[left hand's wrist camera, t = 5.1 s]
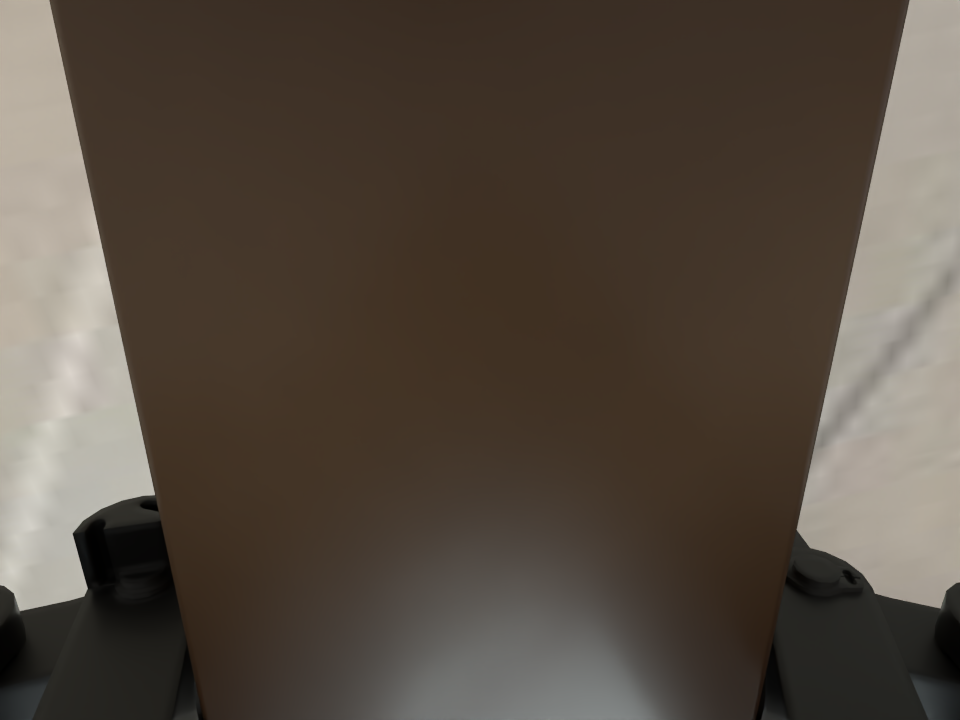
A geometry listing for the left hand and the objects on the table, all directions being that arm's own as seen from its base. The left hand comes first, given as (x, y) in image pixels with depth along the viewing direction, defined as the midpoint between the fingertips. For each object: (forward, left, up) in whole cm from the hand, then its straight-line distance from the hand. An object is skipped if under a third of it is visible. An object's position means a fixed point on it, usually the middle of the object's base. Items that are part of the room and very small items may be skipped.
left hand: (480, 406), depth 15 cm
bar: (+7, 0, -1) cm, 7 cm away
